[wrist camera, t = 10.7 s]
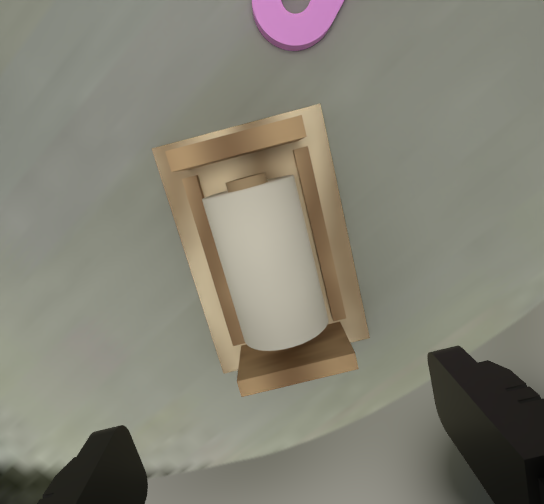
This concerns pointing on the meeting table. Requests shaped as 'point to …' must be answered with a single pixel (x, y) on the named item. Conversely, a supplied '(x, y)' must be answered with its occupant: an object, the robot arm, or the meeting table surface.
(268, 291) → the roll
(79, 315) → the meeting table surface
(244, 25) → the meeting table surface
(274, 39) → the bracket
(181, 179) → the cradle
